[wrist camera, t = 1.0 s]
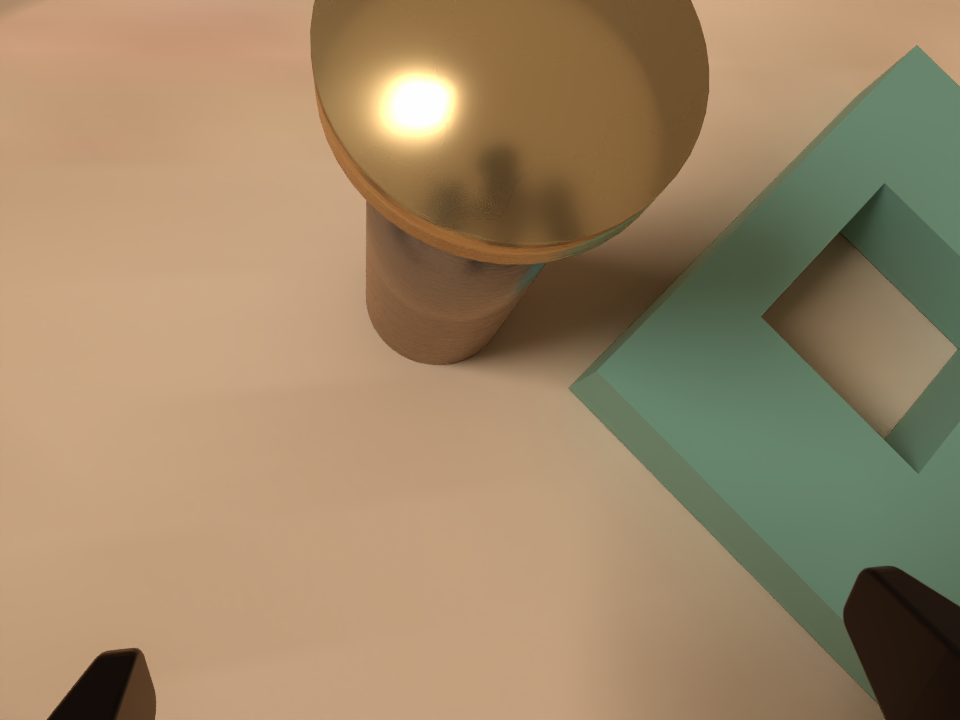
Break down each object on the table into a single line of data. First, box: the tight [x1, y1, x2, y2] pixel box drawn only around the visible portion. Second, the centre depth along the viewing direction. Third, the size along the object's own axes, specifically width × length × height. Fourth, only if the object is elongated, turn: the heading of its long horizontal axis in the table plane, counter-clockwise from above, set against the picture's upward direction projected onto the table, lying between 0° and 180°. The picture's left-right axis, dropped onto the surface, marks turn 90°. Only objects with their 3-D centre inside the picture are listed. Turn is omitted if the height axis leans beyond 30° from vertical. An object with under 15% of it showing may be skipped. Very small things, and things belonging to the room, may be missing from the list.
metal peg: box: [310, 0, 709, 365], centre depth 17 cm, size 6×6×13 cm
